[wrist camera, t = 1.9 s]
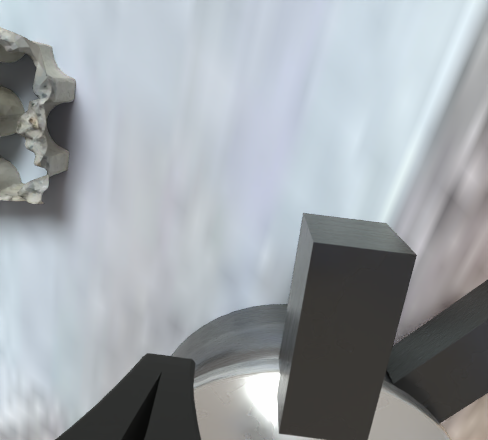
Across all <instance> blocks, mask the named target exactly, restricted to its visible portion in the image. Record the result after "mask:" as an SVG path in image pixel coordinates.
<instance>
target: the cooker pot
mask: <svg viewBox="0 0 488 440" xmlns="http://www.w3.org/2000/svg"><path fill="white" fill-rule="evenodd" d="M287 306H288V304H270V305H263V306H255V307H250V308H246V309H242V310H238V311H234V312H232V313H229V314H227V315H224V316H221V317H219V318H217V319H215V320H213V321H211V322H210V323H208V324H206V325H204V326H203V327H201V328H200V329H198V330H197V331H196V332H194V333H193V334H191V335H190V336H189V337H188V338H187V339H186V340H185V341H184V342H183V343H182V344H181V345H180V346H179V347H178V348H177V349H176V351H175V352H174V353H173V354H172V356H173V357H181V358H189V359H193V361H194V362H195V363H196V365H195V375H194V378H196V377H198V376H200V375H203V374H205V373H208V372H210V371H213V370H215V369H218V368H222V367H226V366H229V365H233V364H237V363H241V362H247V361H254V360H260V359H272V358H279V354H280V348H281V342H282V336H283V330H284V324H285V318H286V312H287ZM384 380H386V381H388V382H390V383H392V384H393V385H395V386H397V387H398V388H400V389H402V390H403V391H405V392H406V393H408V394H410V395H411V396H412V397H413V398H414V399H416V400H417V401H418V402H419V403H421V404H422V405H423V406H424V407H426V408H427V409H428V410H429V412H430V413H431V414H432V415H433V416H434V417H435V418H436V419H437V420H438V421H439V422H440V423H441V422H443V421H444V420H446V419H447V418H449V417H450V416H452V415H454V414H455V413H457V412H458V411H460V410H461V409H463V408H465V407H466V406H468V405H469V404H471V403H473V402H474V401H476V400H477V399H479V398H480V397H482V396H484V395H485V394H487V393H488V280H486V281H485V282H484V283H482V284H481V285H479V286H478V287H477V288H475V289H474V290H472V291H471V292H469V293H468V294H467V295H465V296H464V297H462V298H461V299H460V300H458V301H457V302H455V303H454V304H453V305H451V306H450V307H448V308H447V309H445V310H444V311H443V312H441V313H440V314H438V315H437V316H436V317H434V318H433V319H431V320H430V321H428V322H427V323H426V324H424V325H423V326H421V327H420V328H419V329H417V330H416V331H414V332H413V333H412V334H410V335H409V336H407V337H406V338H404V339H403V340H402V341H400V342H399V343H397V344H396V345H395V346H393V347H392V350H391V354H390V358H389V362H388V366H387V369H386V373H385V377H384Z"/></svg>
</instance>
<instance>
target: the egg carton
mask: <svg viewBox="0 0 488 440" xmlns="http://www.w3.org/2000/svg"><path fill="white" fill-rule="evenodd" d="M25 53H26V54H28V55H29V56H30V57H31V59H32V60H33V62H34V65H35V66H36V67H37V69H36V73H35V79H34V84H33V91H34V94H35V95H36V96H37V97H38V98H39V99H37V100H33V101H30V102H29V107H28V111H27V112H26V113H25V111H24V108H23V105H22V103H21V101H20V99H19V98H18V97H17V95H16V94H15V93H14V92H13V91H11V90H10V89H8V88H5V87H3V86H0V137H3V136H9V135H12V134H15V133H18V134H20V135H21V136H23V137H25V140H26V142H25V146H26V148H27V149H29V150H30V151H32V152H34V153H35V155H36V156H35V161H34V164H35V165H36V166H39V167H43V168H45V169H46V170H47V175H46V176H43V177H40V178H37V179H34V180H32V181H30V182H28V183H26V184H23V183H22V182H21V178H20V175H19V173H18V171H17V169H16V168H15V167H14V165H13V164H12V163H11V162H9V161H7V160H6V159H4V158H2V157H0V200H4V201H27V202H28V203H32V204H44V203H43V202H42V201H41V197H42V194H43V192H44V191H45V190H46V189H47V188H48V186H49V177H51V176H53V175H55V174H59V173H61V172H64V171H67V170H68V163H69V152H68V150H66V149H64V148H62V147H60V146H59V145H57V144H56V143H55V142H54V141H53V140H52V138H51V136H50V134H49V132H48V128H47V118H48V115H49V113H50V111H51V110H52V109H53V108H54V107H56V106H57V105H59V104H61V103H66V102H73V100H74V96H75V86H76V83H75V79H73V78H71V77H69V76H67V75H66V74H64V73H63V72H62V71H61V70H60V69H59V68H58V66H57V64H56V62H55V60H54V56H53V51H52V47H51V46H49V45H46V44H43V43H38V42H34V41H30V40H28V39H27V38H25V37H23V36H21V35H18V34H16V33H14V32H11V31H8V30H6V29H3V28H1V27H0V62H4V63H12V62H16V61H18V60H20V59H21V58H22V57H23V56H24V55H25Z"/></svg>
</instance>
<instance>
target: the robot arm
mask: <svg viewBox="0 0 488 440" xmlns="http://www.w3.org/2000/svg"><path fill="white" fill-rule="evenodd" d="M195 365H196V363H195V362H194V361H193V359H189V358H181V357H173V356H165V355H157V354H149V353H148V354H146V355H145V356H143V357H142V359H141V360H140V361H139V362H138V363H137V364H136V365H135V366H134V367H133V369H132V370H131V371H130V372H129V373H128V374H127V375H126V376H125V377H124V378H123V379H122V380H121V381H120V382H119V383H118V384H117V385H116V386H115V387H114V388H113V389H112V390H111V391H110V392H109V393H108V394H107V395H106V396H105V397H104V398H103V399H102V400H101V401H100V402H99V403H98V404H97V405H95V406H94V407H93V408H92V409H91V410H90V411H89V412H88V413H86V414H85V415H84V416H83V417H82V418H81V419H80V420H78V421H77V422H76V423H75V424H74V425H73V426H72V427H70V428H69V429H68V430H67V431H65V432H64V433H63V434H62V435H61V436H59V437H58V438H57V439H55V440H201V436H200V432H199V427H198V421H197V415H196V408H195V400H194V387H193V385H194V375H195Z"/></svg>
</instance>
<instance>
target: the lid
mask: <svg viewBox="0 0 488 440" xmlns="http://www.w3.org/2000/svg"><path fill="white" fill-rule="evenodd" d="M416 256H417V255H416V254H415V253H414V252H413V251H412V250H411V248H410V247H409V246H408V245H407V244H406V243H405V242H404V241H403V240H402V239H401V238H400V237H399V236H398V235H397V234H396V233H395V232H394V231H393V230H392V229H391V228H390V227H389V226H388V225H387V224H386V223H379V222H371V221H363V220H355V219H347V218H339V217H331V216H323V215H315V214H307V213H303V217H302V223H301V229H300V235H299V241H298V247H297V253H296V259H295V265H294V271H293V277H292V283H291V288H290V294H289V300H288V306H287V312H286V318H285V324H284V330H283V336H282V342H281V348H280V354H279V358H272V359H260V360H254V361H247V362H241V363H237V364H233V365H229V366H226V367H222V368H218V369H215V370H213V371H210V372H208V373H205V374H203V375H200V376H198V377H196V378H194V385H193V387H194V400H195V408H196V415H197V421H198V427H199V432H200V436H201V440H451V438H450V437H449V435H448V434H447V432H446V431H445V429H444V428H443V426H442V425H441V423H440V422H439V421H438V420H437V419H436V418H435V417H434V416H433V415H432V414H431V413H430V412H429V410H428V409H427V408H426V407H424V406H423V405H422V404H421V403H419V402H418V401H417V400H416V399H414V398H413V397H412V396H411V395H410V394H408V393H406V392H405V391H403V390H402V389H400V388H398V387H397V386H395V385H393V384H392V383H390V382H388V381H386V380H384V377H385V373H386V369H387V366H388V362H389V358H390V354H391V350H392V347H393V343H394V339H395V335H396V332H397V328H398V324H399V320H400V316H401V313H402V309H403V305H404V301H405V298H406V294H407V290H408V286H409V282H410V279H411V275H412V271H413V267H414V264H415V260H416Z"/></svg>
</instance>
